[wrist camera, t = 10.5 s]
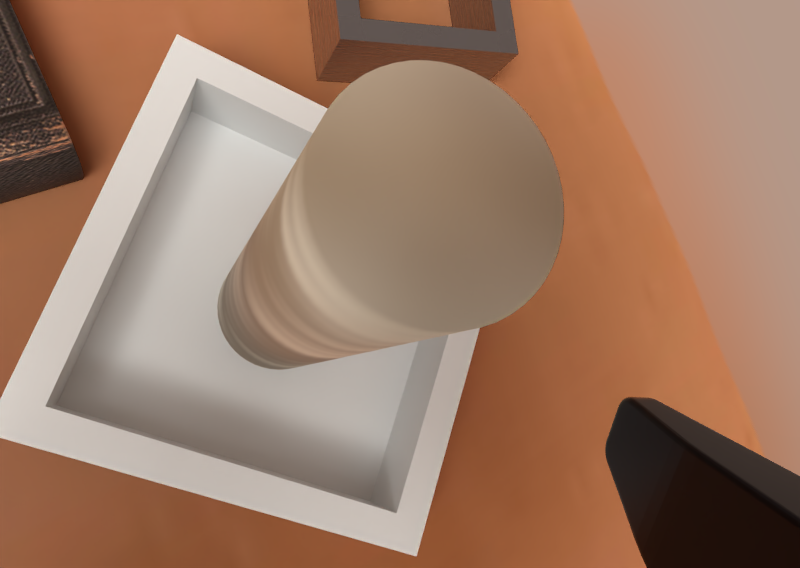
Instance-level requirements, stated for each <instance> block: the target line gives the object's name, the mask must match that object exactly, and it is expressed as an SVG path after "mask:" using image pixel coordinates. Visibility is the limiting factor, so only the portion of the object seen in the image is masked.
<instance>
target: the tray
mask: <svg viewBox="0 0 800 568" xmlns="http://www.w3.org/2000/svg"><path fill="white" fill-rule="evenodd" d="M327 109H328V108H326V107H324V106H322V105H319V104H317V103H315V102H313V101H311V100H309V99H307V98H305V97H303V96H301V95H299V94H297V93H295V92H293V91H291V90H289V89H287V88H285V87H283V86H281V85H279V84H277V83H275V82H273V81H271V80H269V79H267V78H265V77H263V76H261V75H259V74H257V73H255V72H253V71H251V70H249V69H247V68H245V67H243V66H240V65H238V64H236V63H234V62H232V61H230V60H228V59H226V58H224V57H222V56H220V55H218V54H216V53H214V52H212V51H210V50H208V49H206V48H204V47H202V46H200V45H198V44H196V43H194V42H192V41H190V40H188V39H186V38H184V37H182V36H180V35H178V34H177V35H176V37H175V39H174V41H173V43H172V46H171V48H170V50H169V52H168V54H167V56H166V58H165V60H164V62H163V64H162V66H161V68H160V70H159V72H158V74H157V76H156V79H155V81H154V83H153V85H152V87H151V89H150V91H149V93H148V95H147V97H146V99H145V101H144V103H143V105H142V107H141V110H140V112H139V114H138V116H137V118H136V120H135V122H134V124H133V126H132V128H131V130H130V132H129V134H128V136H127V138H126V141H125V143H124V145H123V147H122V149H121V151H120V153H119V155H118V157H117V159H116V161H115V163H114V165H113V167H112V169H111V172H110V174H109V176H108V178H107V180H106V182H105V184H104V186H103V188H102V190H101V192H100V194H99V196H98V198H97V200H96V202H95V205H94V207H93V209H92V211H91V213H90V215H89V217H88V219H87V221H86V223H85V225H84V227H83V229H82V231H81V233H80V236H79V238H78V240H77V242H76V244H75V246H74V248H73V250H72V252H71V254H70V256H69V258H68V260H67V262H66V264H65V267H64V269H63V271H62V273H61V275H60V277H59V279H58V281H57V283H56V285H55V287H54V289H53V291H52V293H51V295H50V298H49V300H48V302H47V304H46V306H45V308H44V310H43V312H42V314H41V316H40V318H39V320H38V322H37V324H36V326H35V329H34V331H33V333H32V335H31V337H30V339H29V341H28V343H27V345H26V347H25V349H24V351H23V353H22V355H21V357H20V359H19V362H18V364H17V366H16V368H15V370H14V372H13V374H12V376H11V378H10V380H9V382H8V384H7V386H6V388H5V390H4V393H3V395H2V397H1V399H0V438H3V439H6V440H10V441H13V442H17V443H20V444H24V445H27V446H31V447H34V448H38V449H41V450H45V451H48V452H52V453H55V454H59V455H62V456H66V457H69V458H73V459H76V460H80V461H83V462H87V463H90V464H94V465H97V466H101V467H104V468H108V469H111V470H115V471H118V472H122V473H125V474H129V475H132V476H136V477H139V478H143V479H147V480H150V481H154V482H157V483H161V484H164V485H168V486H171V487H175V488H178V489H182V490H185V491H189V492H192V493H196V494H199V495H203V496H206V497H210V498H213V499H217V500H220V501H224V502H227V503H231V504H234V505H238V506H241V507H245V508H248V509H252V510H255V511H259V512H262V513H266V514H269V515H273V516H276V517H280V518H283V519H287V520H290V521H294V522H297V523H301V524H304V525H308V526H311V527H315V528H318V529H322V530H325V531H329V532H332V533H336V534H340V535H343V536H347V537H350V538H354V539H357V540H361V541H364V542H368V543H371V544H375V545H378V546H382V547H385V548H389V549H392V550H396V551H399V552H403V553H406V554H410V555H413V556H417V553H418V549H419V546H420V542H421V538H422V535H423V531H424V528H425V524H426V520H427V517H428V513H429V510H430V506H431V502H432V499H433V495H434V492H435V488H436V484H437V481H438V477H439V474H440V470H441V466H442V463H443V459H444V456H445V452H446V448H447V445H448V441H449V438H450V434H451V430H452V427H453V423H454V420H455V416H456V412H457V409H458V405H459V401H460V398H461V394H462V391H463V387H464V383H465V380H466V376H467V373H468V369H469V365H470V362H471V358H472V355H473V351H474V347H475V344H476V340H477V337H478V333H479V329H480V328H477V329H472V330H468V331H463V332H458V333H454V334H449V335H444V336H440V337H435V338H430V339H426V340H421V341H417V342H412V343H407V344H403V345H398V346H393V347H389V348H384V349H379V350H375V351H370V352H365V353H361V354H356V355H352V356H347V357H342V358H338V359H333V360H328V361H324V362H319V363H314V364H310V365H305V366H301V367H296V368H291V369H283V370H276V369H268V368H263V367H260V366H257V365H254V364H253V363H251V362H249V361H247V360H245V359H244V358H243V357H241V356H240V355H239V354H238V353H237V352H235V351H234V349H233V348H232V347H231V346H230V345H229V343H228V342H227V340H226V338H225V337H224V335H223V332H222V330H221V327H220V324H219V319H218V309H217V305H218V297H219V293H220V289H221V287H222V284H223V282H224V280H225V279H226V277H227V275H228V273H229V272H230V270H231V268H232V267H233V265H234V263H235V262H236V260H237V258H238V257H239V255H240V253H241V252H242V250H243V249H244V247H245V245H246V244H247V242H248V240H249V239H250V237H251V235H252V234H253V232H254V230H255V229H256V227H257V225H258V224H259V222H260V220H261V219H262V217H263V215H264V214H265V212H266V210H267V209H268V207H269V205H270V204H271V202H272V200H273V199H274V197H275V195H276V194H277V192H278V190H279V189H280V187H281V185H282V184H283V182H284V180H285V179H286V177H287V175H288V174H289V172H290V171H291V169H292V167H293V166H294V164H295V162H296V161H297V159H298V157H299V156H300V154H301V152H302V151H303V149H304V147H305V146H306V144H307V142H308V141H309V139H310V137H311V136H312V134H313V132H314V131H315V129H316V127H317V126H318V124H319V122H320V121H321V119H322V117H323V116H324V114H325V112H326V111H327Z"/></svg>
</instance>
